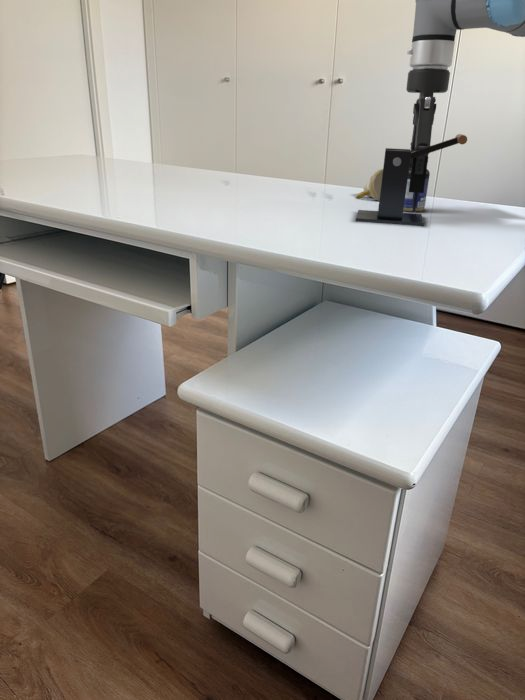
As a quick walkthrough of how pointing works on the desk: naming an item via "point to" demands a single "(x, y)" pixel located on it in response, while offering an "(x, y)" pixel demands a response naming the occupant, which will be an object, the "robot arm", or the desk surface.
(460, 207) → the desk surface
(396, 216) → the bracket
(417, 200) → the pill bottle
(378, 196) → the tan rounded piece
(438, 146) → the lever
